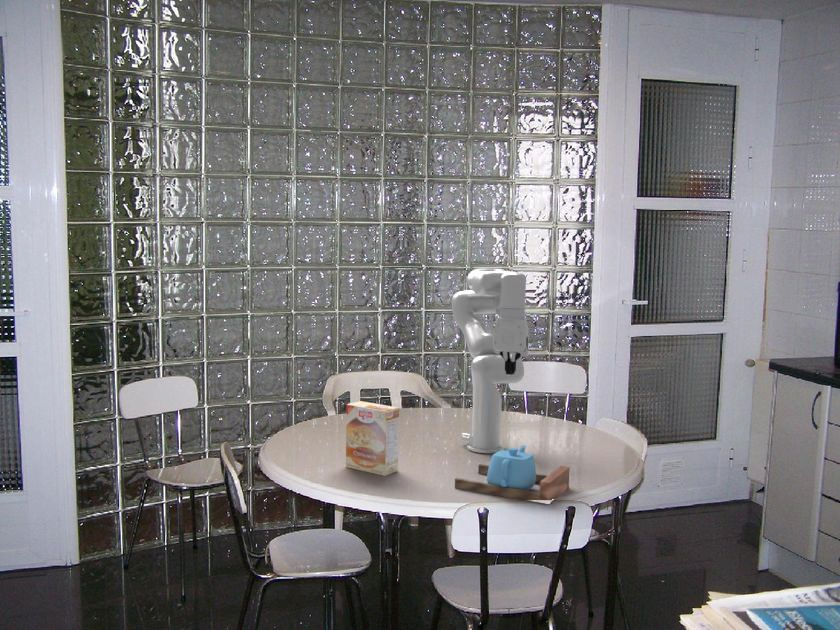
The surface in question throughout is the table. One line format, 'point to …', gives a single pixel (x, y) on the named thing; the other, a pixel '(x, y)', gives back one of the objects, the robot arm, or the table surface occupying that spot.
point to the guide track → (549, 489)
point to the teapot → (512, 469)
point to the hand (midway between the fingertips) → (510, 373)
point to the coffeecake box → (372, 437)
